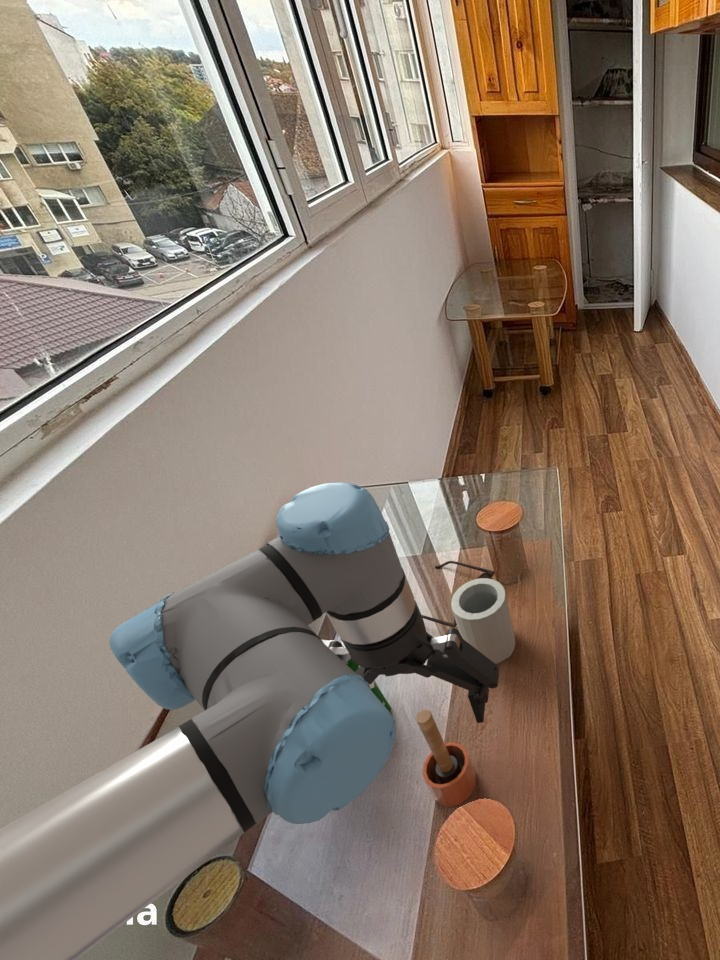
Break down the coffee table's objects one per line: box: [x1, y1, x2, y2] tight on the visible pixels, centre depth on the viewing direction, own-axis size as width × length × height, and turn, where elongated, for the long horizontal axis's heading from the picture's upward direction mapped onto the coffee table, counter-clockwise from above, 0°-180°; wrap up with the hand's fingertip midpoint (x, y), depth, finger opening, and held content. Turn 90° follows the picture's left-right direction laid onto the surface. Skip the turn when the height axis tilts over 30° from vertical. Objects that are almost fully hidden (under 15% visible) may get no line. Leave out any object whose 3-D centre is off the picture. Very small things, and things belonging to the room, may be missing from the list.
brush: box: [415, 709, 462, 784], centre depth 71 cm, size 3×3×20 cm
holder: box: [422, 741, 477, 808], centre depth 75 cm, size 6×6×7 cm
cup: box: [450, 578, 516, 665], centre depth 92 cm, size 9×9×14 cm
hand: (427, 719), depth 65 cm, fingers open, 13 cm apart
